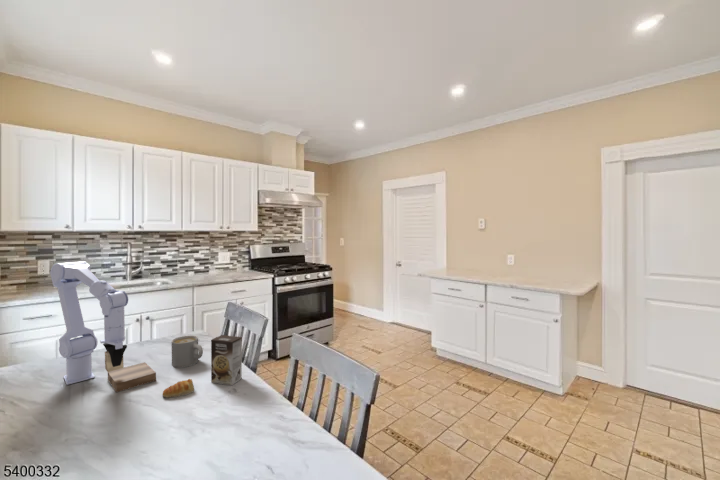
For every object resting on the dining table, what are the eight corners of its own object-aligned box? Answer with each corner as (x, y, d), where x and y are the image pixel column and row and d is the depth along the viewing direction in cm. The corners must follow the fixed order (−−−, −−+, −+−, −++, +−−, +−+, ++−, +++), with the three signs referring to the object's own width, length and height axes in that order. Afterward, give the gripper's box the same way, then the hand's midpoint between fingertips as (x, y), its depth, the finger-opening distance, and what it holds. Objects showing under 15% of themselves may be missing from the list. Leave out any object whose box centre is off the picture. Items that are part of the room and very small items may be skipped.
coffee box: (210, 383, 119) (210, 339, 118) (221, 375, 125) (221, 334, 124) (232, 386, 116) (231, 341, 116) (242, 378, 123) (242, 336, 122)
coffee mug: (166, 364, 134) (166, 340, 134) (188, 356, 143) (188, 334, 143) (187, 371, 128) (187, 346, 128) (208, 362, 137) (208, 338, 137)
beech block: (105, 368, 115) (104, 351, 114) (120, 364, 118) (120, 348, 118) (107, 372, 112) (107, 355, 111) (123, 368, 115) (123, 351, 115)
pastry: (164, 402, 106) (164, 390, 106) (160, 394, 111) (160, 383, 111) (195, 392, 112) (195, 381, 112) (190, 385, 117) (190, 375, 117)
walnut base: (107, 379, 121) (107, 371, 121) (145, 369, 130) (145, 362, 129) (116, 392, 111) (116, 383, 111) (156, 380, 120) (155, 372, 120)
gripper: (96, 324, 116) (97, 361, 117) (104, 333, 107) (104, 373, 107) (120, 320, 122) (121, 355, 122) (129, 328, 112) (130, 367, 112)
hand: (115, 363), depth 115 cm, fingers closed on beech block, 4 cm apart
